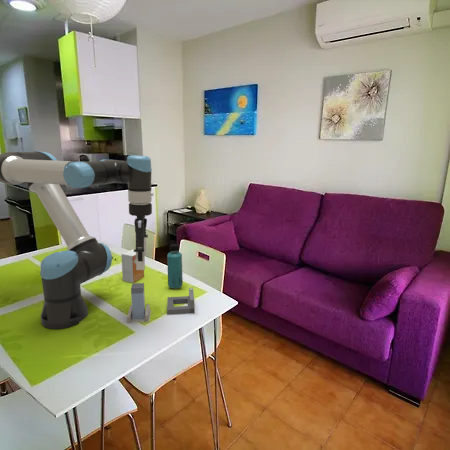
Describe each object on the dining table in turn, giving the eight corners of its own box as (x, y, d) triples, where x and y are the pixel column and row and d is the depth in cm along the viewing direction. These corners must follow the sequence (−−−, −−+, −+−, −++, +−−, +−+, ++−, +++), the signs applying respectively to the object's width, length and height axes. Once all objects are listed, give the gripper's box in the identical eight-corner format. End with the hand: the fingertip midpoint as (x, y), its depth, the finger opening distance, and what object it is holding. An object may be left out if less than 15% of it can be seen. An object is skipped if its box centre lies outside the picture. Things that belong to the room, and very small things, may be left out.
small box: (133, 283, 144) (132, 256, 141) (122, 280, 146) (120, 253, 143) (144, 276, 151) (143, 250, 148) (133, 274, 154) (132, 248, 150)
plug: (132, 319, 114) (130, 288, 111) (134, 313, 118) (132, 283, 115) (144, 318, 114) (142, 287, 111) (145, 313, 118) (143, 283, 115)
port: (167, 316, 118) (166, 299, 116) (167, 302, 127) (167, 287, 126) (194, 314, 119) (194, 298, 118) (192, 301, 129) (192, 286, 127)
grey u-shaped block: (126, 324, 112) (125, 316, 111) (129, 312, 119) (128, 305, 119) (149, 322, 113) (149, 315, 112) (151, 311, 121) (150, 304, 120)
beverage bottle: (180, 292, 136) (179, 247, 131) (165, 290, 138) (164, 246, 133) (184, 286, 143) (184, 243, 138) (170, 284, 144) (169, 241, 139)
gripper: (150, 210, 96) (151, 276, 102) (152, 196, 120) (153, 249, 125) (124, 210, 95) (127, 276, 100) (131, 196, 119) (133, 250, 124)
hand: (141, 262), depth 113 cm, fingers open, 13 cm apart
